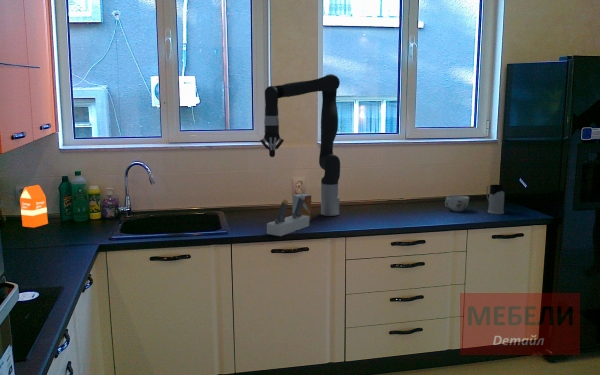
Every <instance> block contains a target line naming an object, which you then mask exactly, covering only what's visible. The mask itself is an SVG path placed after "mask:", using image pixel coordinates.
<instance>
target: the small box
mask: <svg viewBox="0 0 600 375" xmlns="http://www.w3.org/2000/svg"><path fill="white" fill-rule="evenodd" d="M301 195H304V196H305V200H304V203H303V206H302V210H301V212H302V215H305V216H309V221H310V220H312V194H307V193H302V194H301V193H299V194H293V195H292V210H291V211H292V214H294V212H295V209H296V206H297V203H298V200H299V198H300V196H301ZM292 214H291V215H292Z"/></svg>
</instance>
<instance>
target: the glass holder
mask: <svg viewBox="0 0 600 375" xmlns="http://www.w3.org/2000/svg"><path fill="white" fill-rule="evenodd" d="M505 187H506V186H505V185H503V184H490V185H487V186H486V189H485V190H486V191H485V192H486V198H487V201H488V210H487V213H488V214H492V215H493V214H495V215H502V214H505V211H504V207H505V206H504V205H505V189H506V188H505ZM488 189H489V191H488ZM488 192H489V194H488Z"/></svg>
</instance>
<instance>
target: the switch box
mask: <svg viewBox="0 0 600 375" xmlns="http://www.w3.org/2000/svg"><path fill="white" fill-rule="evenodd" d="M307 227H310V220H309V216H305V215H302V212H301V215H300V216H297V217H296V214H291V215H290V216H286V217H285V216H284V220H283V221H281V222H279V220H278V219H277V218H275V219H274V220H273V221H270V222H267V223H266V234H267V235H271V236H277V237H282V236H285V235H289V234H291V233H294V232H296V230H297V231H299V230H302V229H305V228H307Z"/></svg>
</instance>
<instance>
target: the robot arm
mask: <svg viewBox="0 0 600 375" xmlns="http://www.w3.org/2000/svg"><path fill="white" fill-rule="evenodd" d="M340 84H341V82H340V79H339V77H338V75H335V74H333V73H330V74H329V73H328V74H326V75H324V76H321V77H319V78H316V79H315V78H314V79H310V80H302V81H301V80H300V81H294V82H288V83H284V84H279V85H270V86H267V87H266V88H265V90H264V103H265V106H264V136H263V137H262V139H260V140H259V141H260V143H261V144H262V145H263V147H264V148H265V149H266V150H268V153H269V154H268V155H269V157H270V158H275V156H276V150H278V149H279V148H281V145H282V144H283V143H284V142H285V141H284V139H283V138H281V136H280V119H279V99H282V98H290V97H295V96H300V95H301V96H302V95H306V94H309V93H315V92H321V96H322V104H321V114H320V150H319V157H318V158H319V159H318V164H319V166H320V168H321V169H322V170H324V176H323V177H321V178H320V179H321V180H320V184H321V187H320V202H321V203H320V215H322V216H325V217H333V216H334V217H335V216H339V215H340V197H339V180H340V178H341V160H340V157H339V156H338V155H336V154H334V142H335V139H336V137H337V134H338V131H339V112H338V107H337V95H338V94H337V93H338V89H339V88H340Z"/></svg>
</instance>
